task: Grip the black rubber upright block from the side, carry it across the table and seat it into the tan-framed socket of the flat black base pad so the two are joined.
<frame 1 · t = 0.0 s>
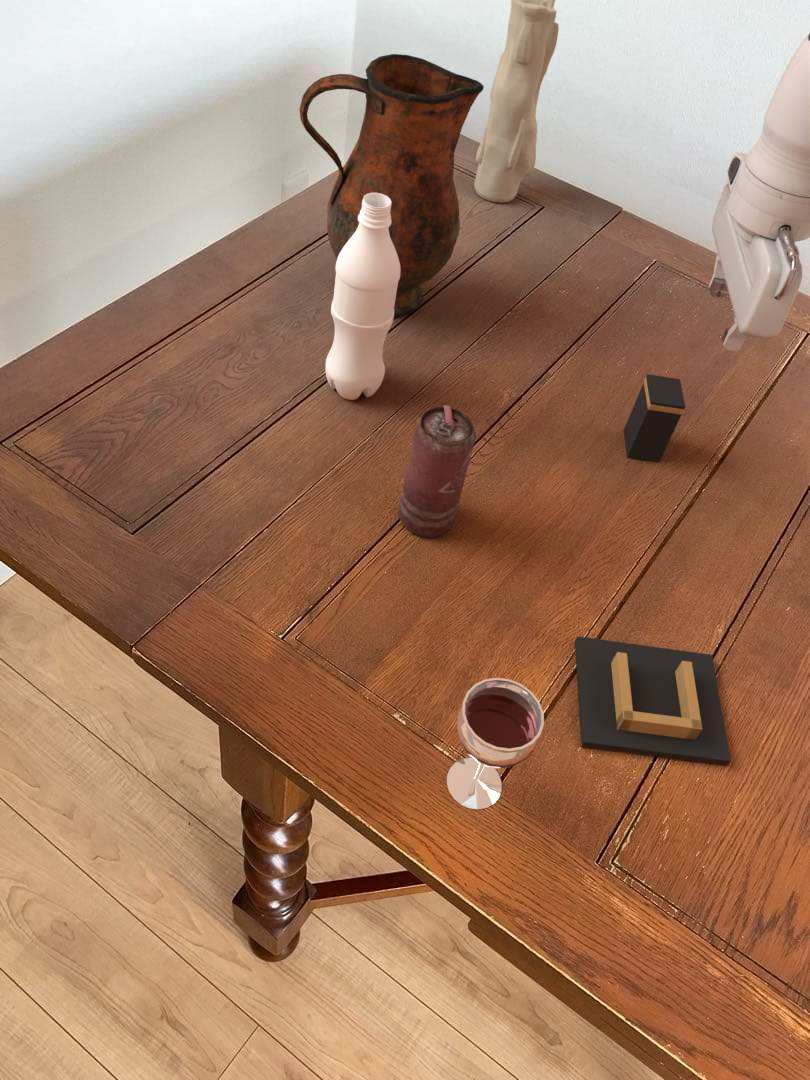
hand: (722, 319, 103), 20 cm above the table, tool pointing down, fingers open, 8 cm apart
base pad: (647, 701, 94), on the table
vase: (497, 194, 154), on the table
can: (424, 518, 106), on the table
water bottle: (352, 387, 119), on the table
wineglass: (473, 784, 86), on the table
pitcher: (366, 297, 131), on the table
upright block: (641, 446, 119), on the table
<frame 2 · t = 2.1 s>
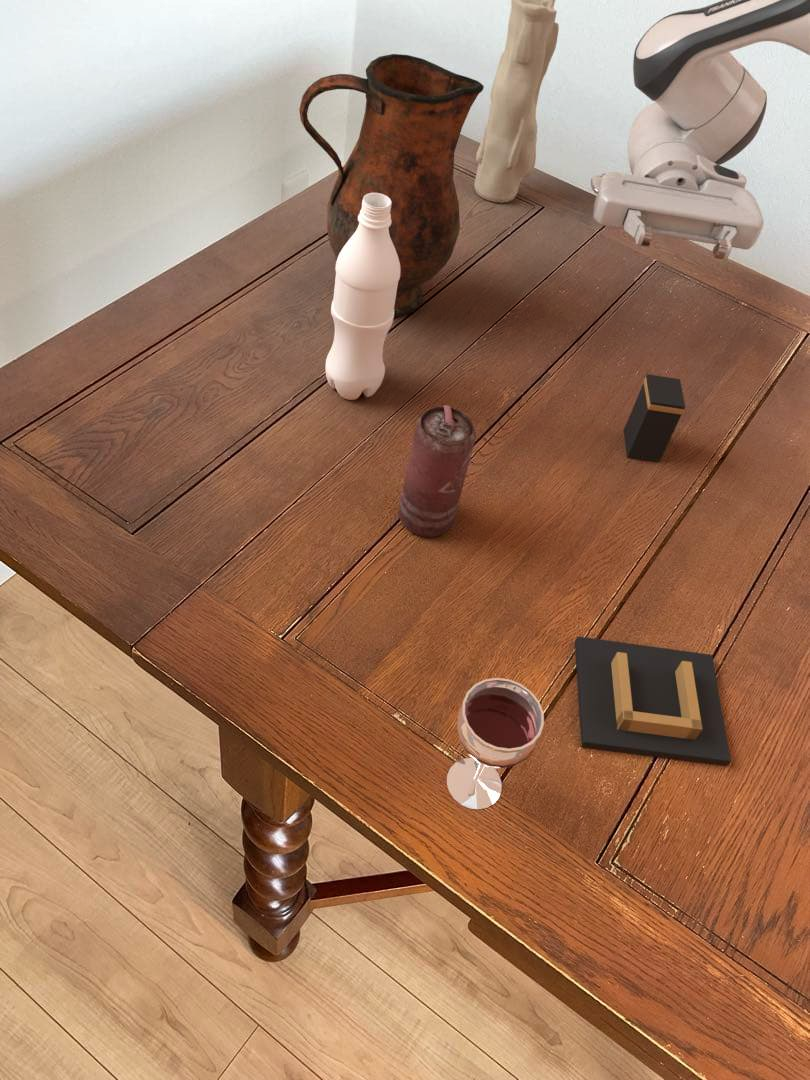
hand: (684, 247, 113), 20 cm above the table, tool horizontal, fingers open, 8 cm apart
nothing on the table moved.
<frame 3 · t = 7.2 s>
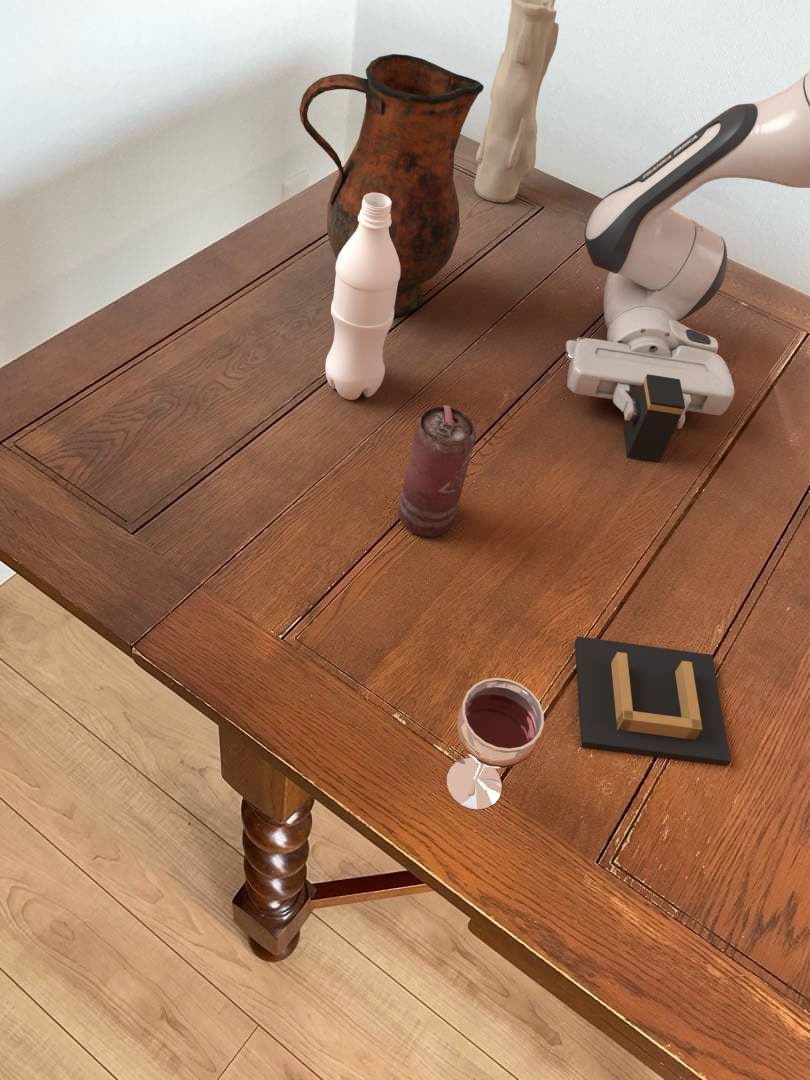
hand: (655, 420, 115), 5 cm above the table, tool horizontal, fingers closed on upright block, 4 cm apart
upright block: (640, 446, 119), on the table, touching gripper
everything else where it was.
when the fingers open (6 cm above the table, at t = 17.7 s): upright block stays where it is, resting on base pad.
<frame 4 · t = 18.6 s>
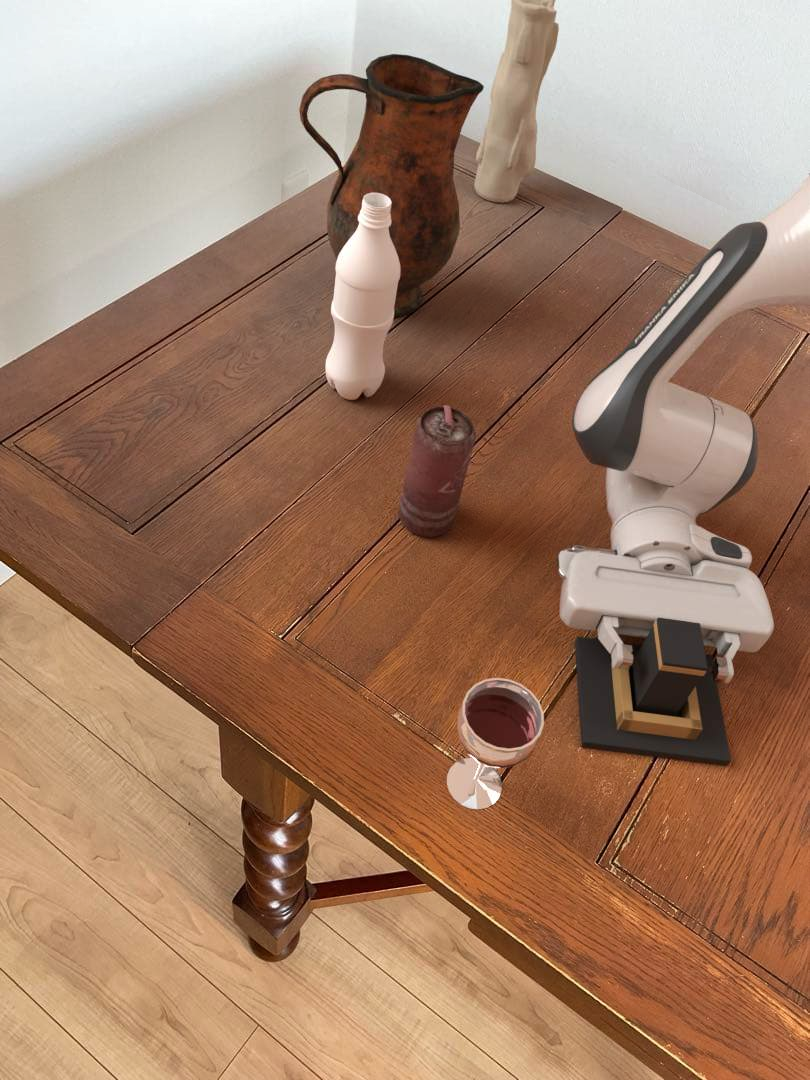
hand: (673, 672, 89), 7 cm above the table, tool horizontal, fingers open, 8 cm apart
upright block: (649, 695, 94), point 1 cm above the table, touching base pad
everything else where it was.
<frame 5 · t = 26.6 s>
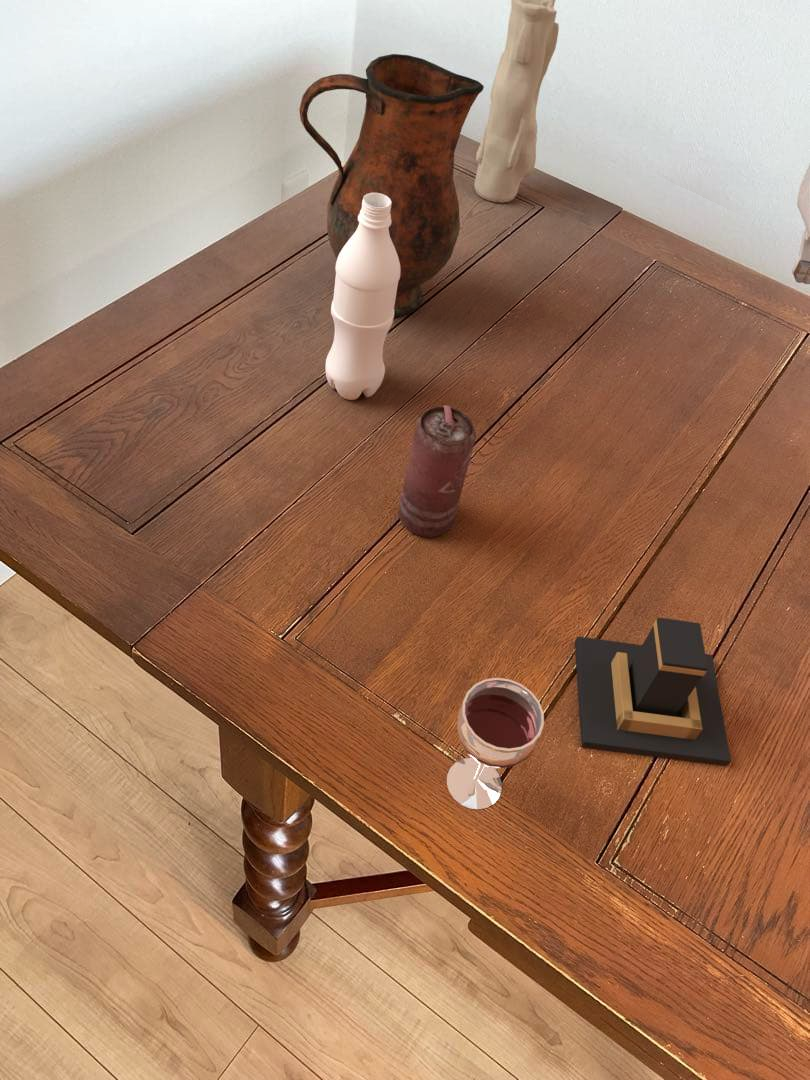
nothing on the table moved.
at the end: upright block 0.2 cm off-centre on the base pad, point 1.0 cm above the base pad's base; upright block tilted 0°; the gripper is holding nothing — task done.
